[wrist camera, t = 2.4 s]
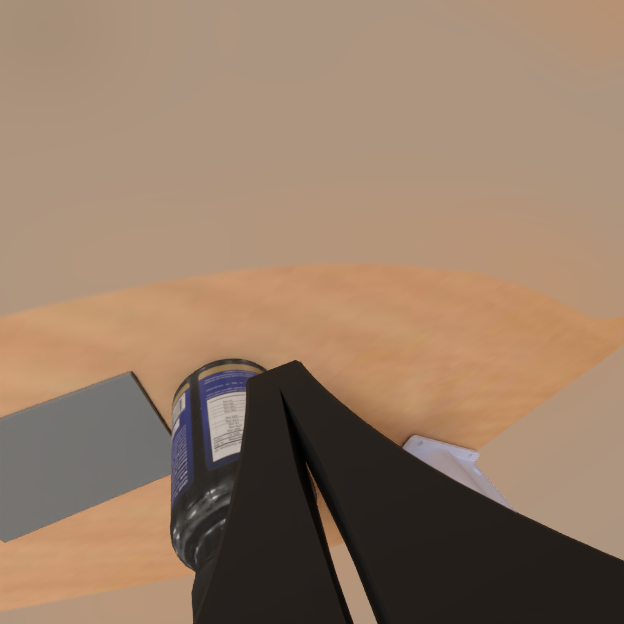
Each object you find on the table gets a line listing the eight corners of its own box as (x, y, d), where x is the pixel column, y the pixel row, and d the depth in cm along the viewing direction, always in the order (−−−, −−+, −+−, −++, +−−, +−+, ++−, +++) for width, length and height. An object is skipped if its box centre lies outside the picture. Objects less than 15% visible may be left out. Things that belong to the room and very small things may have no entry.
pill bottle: (221, 448, 23) (250, 665, 14) (147, 402, 20) (121, 650, 11) (294, 391, 23) (373, 574, 14) (232, 334, 20) (281, 528, 10)
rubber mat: (131, 371, 19) (130, 374, 18) (189, 462, 23) (190, 465, 23) (-105, 455, 17) (-110, 460, 16) (6, 537, 21) (4, 542, 21)
